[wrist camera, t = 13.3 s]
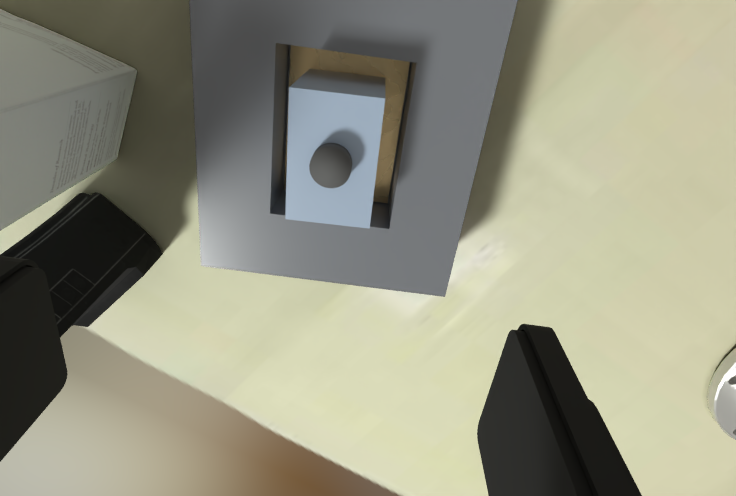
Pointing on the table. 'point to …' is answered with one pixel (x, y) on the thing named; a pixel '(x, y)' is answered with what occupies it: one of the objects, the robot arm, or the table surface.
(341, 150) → the plug
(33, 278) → the robot arm
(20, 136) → the skincare box
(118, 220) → the portable radio
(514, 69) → the table surface
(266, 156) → the socket block
